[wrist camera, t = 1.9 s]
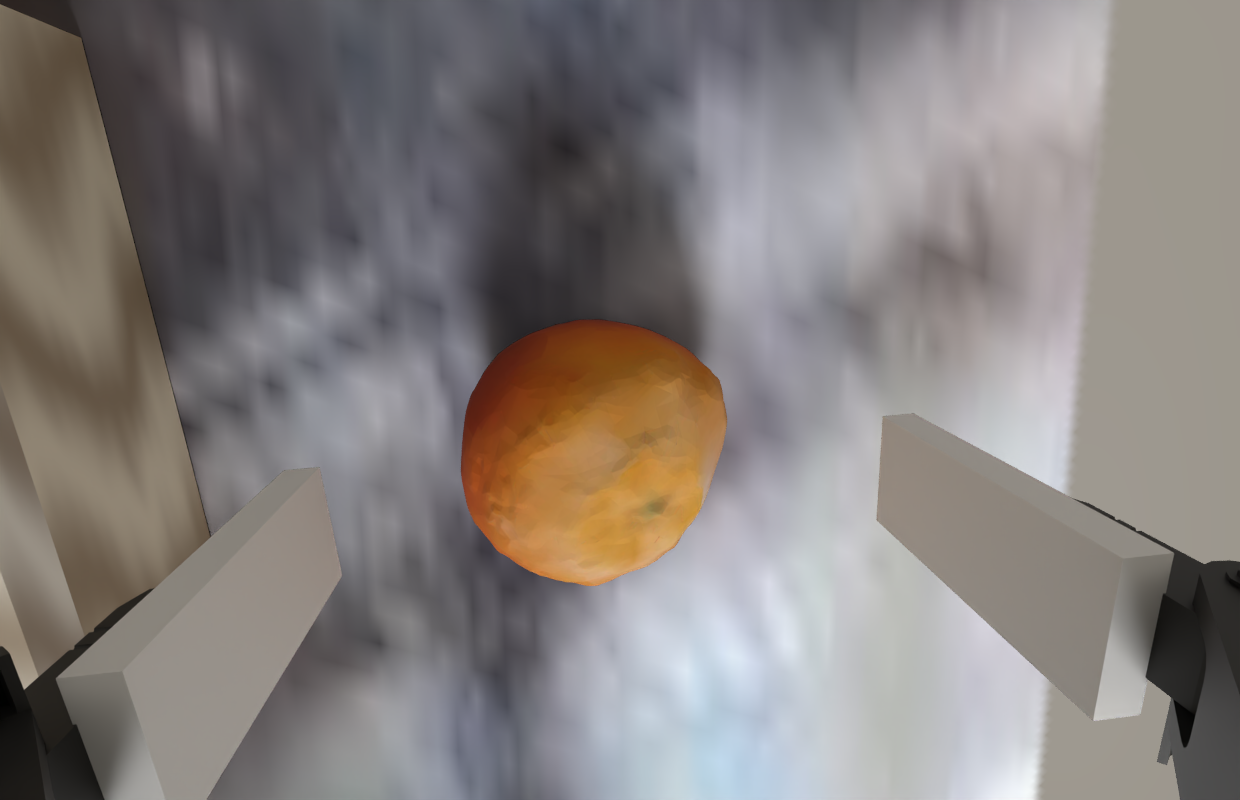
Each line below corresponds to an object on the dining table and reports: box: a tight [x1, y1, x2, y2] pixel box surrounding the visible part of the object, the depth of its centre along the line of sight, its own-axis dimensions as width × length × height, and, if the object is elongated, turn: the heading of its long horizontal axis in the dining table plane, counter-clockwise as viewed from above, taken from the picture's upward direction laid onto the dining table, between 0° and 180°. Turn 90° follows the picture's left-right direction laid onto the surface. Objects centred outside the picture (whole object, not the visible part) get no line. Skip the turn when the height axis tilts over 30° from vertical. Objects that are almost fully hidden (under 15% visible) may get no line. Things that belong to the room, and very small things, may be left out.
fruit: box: [461, 319, 727, 586], centre depth 19 cm, size 8×8×8 cm
